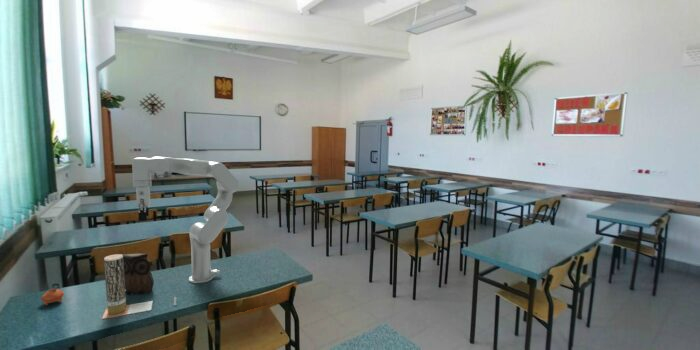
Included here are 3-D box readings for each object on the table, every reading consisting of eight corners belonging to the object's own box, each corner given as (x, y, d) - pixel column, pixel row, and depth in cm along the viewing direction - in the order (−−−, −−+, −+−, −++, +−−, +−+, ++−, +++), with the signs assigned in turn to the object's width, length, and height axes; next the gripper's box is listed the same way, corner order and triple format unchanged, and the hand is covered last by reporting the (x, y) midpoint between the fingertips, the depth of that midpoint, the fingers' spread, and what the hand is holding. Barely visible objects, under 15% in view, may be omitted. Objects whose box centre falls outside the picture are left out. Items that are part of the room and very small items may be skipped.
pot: (69, 296, 158) (66, 285, 155) (58, 308, 150) (55, 296, 148) (50, 297, 156) (47, 285, 154) (38, 309, 149) (35, 297, 147)
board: (176, 297, 160) (176, 296, 160) (176, 305, 152) (176, 305, 152) (106, 309, 148) (106, 308, 148) (101, 319, 140) (101, 318, 140)
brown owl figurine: (155, 291, 165) (153, 253, 163) (125, 299, 157) (122, 259, 155) (149, 283, 174) (147, 247, 172) (120, 290, 166) (118, 252, 164)
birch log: (115, 306, 150) (111, 253, 147) (129, 307, 149) (126, 254, 146) (103, 314, 143) (99, 259, 140) (119, 315, 143) (115, 260, 140)
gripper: (149, 185, 151) (151, 221, 153) (152, 180, 167) (154, 213, 169) (130, 186, 148) (132, 223, 150) (135, 181, 163) (137, 215, 165)
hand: (143, 218), depth 159 cm, fingers open, 9 cm apart
